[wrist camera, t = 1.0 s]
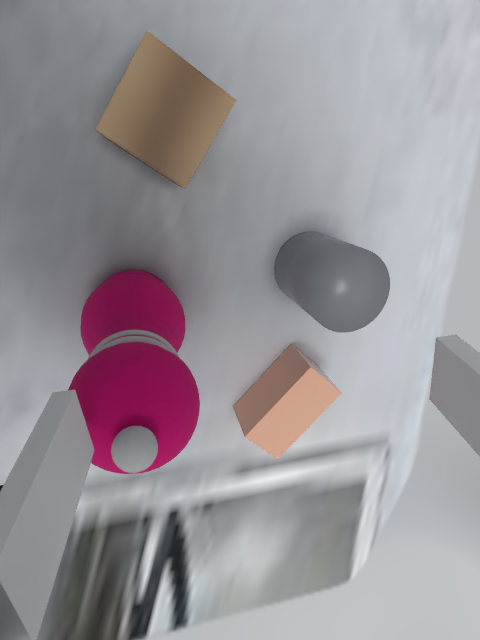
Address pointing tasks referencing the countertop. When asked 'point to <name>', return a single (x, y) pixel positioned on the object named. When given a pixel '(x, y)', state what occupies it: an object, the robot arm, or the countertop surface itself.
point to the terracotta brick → (284, 402)
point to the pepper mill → (135, 374)
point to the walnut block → (165, 112)
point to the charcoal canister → (332, 280)
